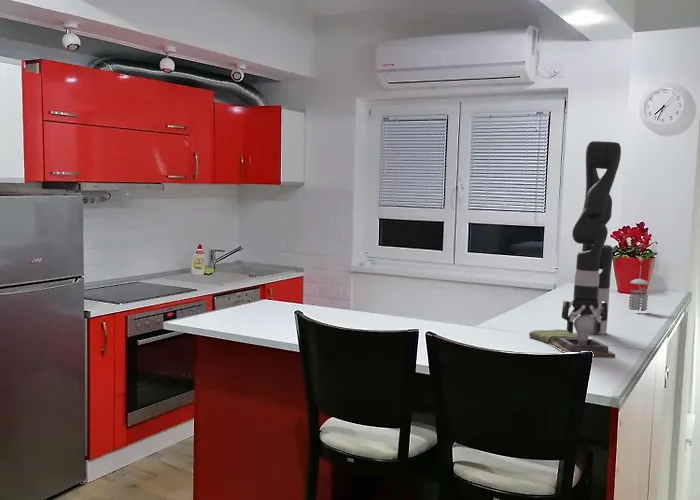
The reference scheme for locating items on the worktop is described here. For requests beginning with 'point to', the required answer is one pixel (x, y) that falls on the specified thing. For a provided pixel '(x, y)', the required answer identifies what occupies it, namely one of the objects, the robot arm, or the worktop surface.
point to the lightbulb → (583, 328)
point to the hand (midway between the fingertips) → (583, 333)
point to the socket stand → (583, 347)
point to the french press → (638, 295)
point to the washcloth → (551, 335)
